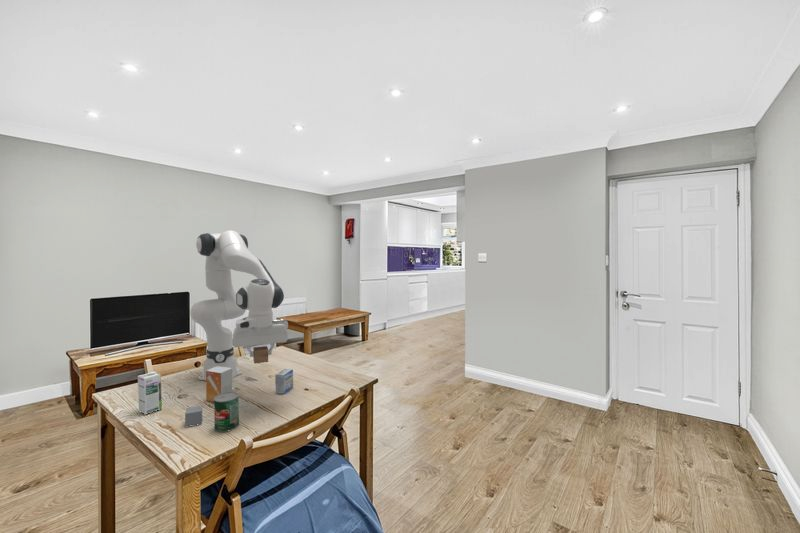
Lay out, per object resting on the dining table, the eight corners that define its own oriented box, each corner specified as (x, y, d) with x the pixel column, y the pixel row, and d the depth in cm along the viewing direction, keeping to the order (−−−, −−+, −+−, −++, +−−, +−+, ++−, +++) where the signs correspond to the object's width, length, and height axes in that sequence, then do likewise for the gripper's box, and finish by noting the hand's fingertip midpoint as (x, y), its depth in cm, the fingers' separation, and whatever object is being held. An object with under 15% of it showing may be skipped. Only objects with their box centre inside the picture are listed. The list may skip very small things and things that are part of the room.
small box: (205, 401, 144) (205, 370, 143) (218, 395, 150) (217, 365, 149) (221, 404, 141) (220, 372, 141) (233, 397, 147) (232, 367, 147)
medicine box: (284, 394, 151) (284, 375, 151) (275, 393, 152) (275, 374, 152) (293, 387, 159) (293, 369, 158) (284, 386, 160) (284, 368, 159)
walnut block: (253, 359, 137) (253, 347, 137) (266, 358, 140) (266, 346, 139) (254, 363, 133) (254, 350, 133) (268, 361, 135) (268, 349, 135)
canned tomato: (242, 420, 128) (241, 391, 127) (234, 431, 120) (234, 400, 120) (219, 421, 127) (219, 392, 126) (210, 432, 119) (210, 401, 119)
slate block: (186, 421, 127) (186, 408, 127) (202, 418, 129) (202, 405, 129) (185, 427, 122) (185, 413, 122) (201, 424, 125) (201, 411, 125)
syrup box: (145, 415, 131) (144, 378, 130) (138, 411, 134) (137, 375, 133) (162, 409, 136) (161, 373, 135) (155, 406, 139) (154, 370, 138)
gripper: (286, 317, 143) (286, 350, 144) (232, 321, 134) (232, 356, 134) (289, 320, 137) (289, 354, 138) (232, 324, 128) (232, 361, 129)
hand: (260, 355), depth 136 cm, fingers closed on walnut block, 5 cm apart
